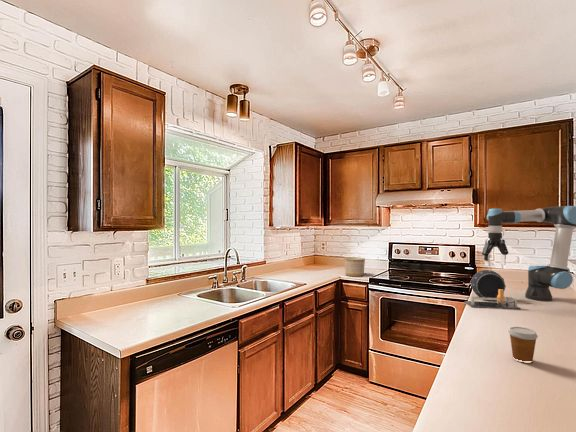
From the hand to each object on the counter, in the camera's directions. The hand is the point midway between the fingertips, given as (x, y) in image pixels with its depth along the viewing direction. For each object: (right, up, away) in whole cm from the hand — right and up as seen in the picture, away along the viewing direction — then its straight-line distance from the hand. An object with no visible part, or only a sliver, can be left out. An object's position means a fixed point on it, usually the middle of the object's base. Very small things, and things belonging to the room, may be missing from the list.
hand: (495, 265), depth 215 cm
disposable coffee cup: (-40, -26, -83) cm, 96 cm away
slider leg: (0, -24, -6) cm, 25 cm away
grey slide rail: (-4, -25, -5) cm, 26 cm away
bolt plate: (-4, -26, -3) cm, 26 cm away
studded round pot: (+3, -26, +14) cm, 29 cm away
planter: (-70, -25, +103) cm, 127 cm away
